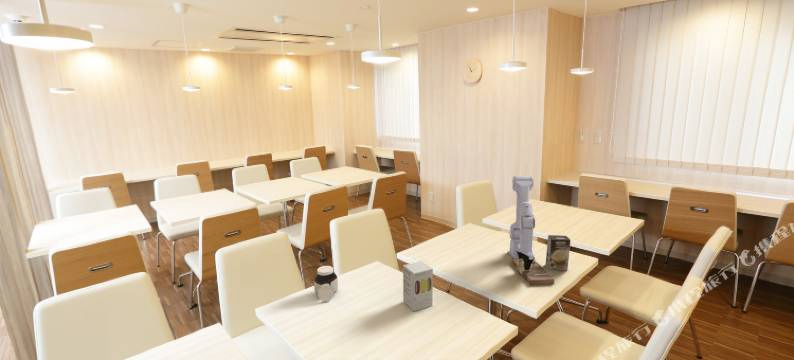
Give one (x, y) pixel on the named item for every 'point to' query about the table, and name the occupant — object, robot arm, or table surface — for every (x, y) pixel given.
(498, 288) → the table surface
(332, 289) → the spread jar
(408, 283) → the supplement box
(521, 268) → the beige block
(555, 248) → the coffee box
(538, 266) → the walnut board
